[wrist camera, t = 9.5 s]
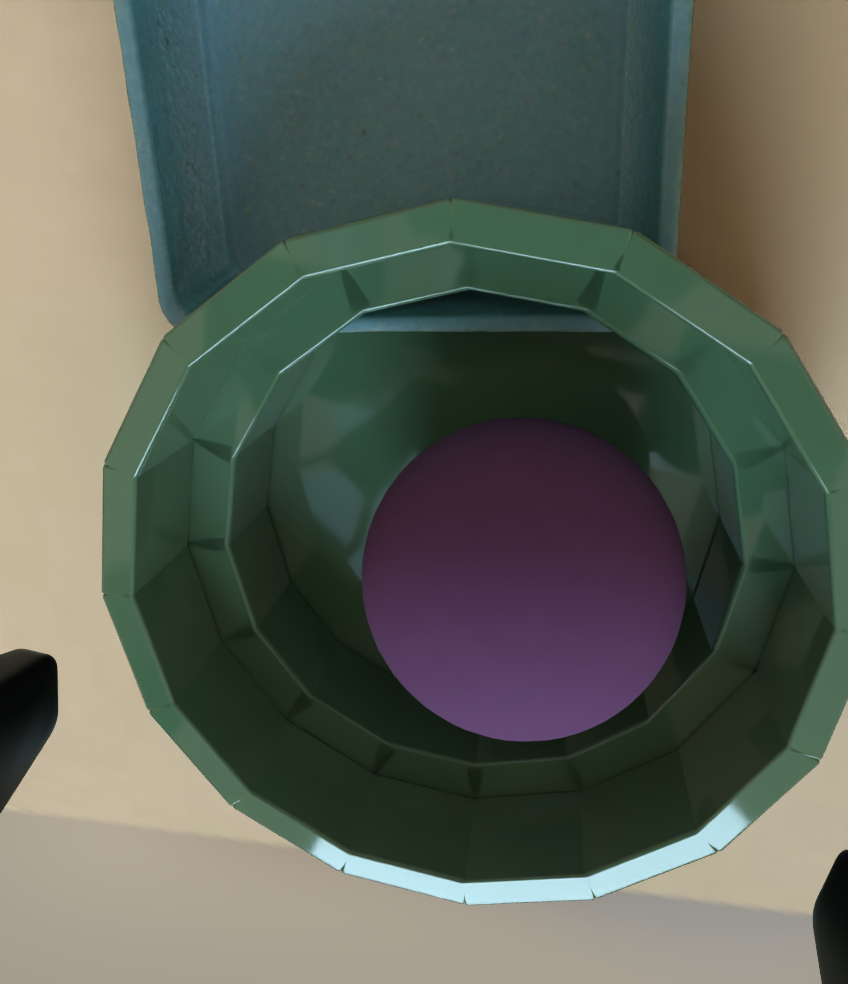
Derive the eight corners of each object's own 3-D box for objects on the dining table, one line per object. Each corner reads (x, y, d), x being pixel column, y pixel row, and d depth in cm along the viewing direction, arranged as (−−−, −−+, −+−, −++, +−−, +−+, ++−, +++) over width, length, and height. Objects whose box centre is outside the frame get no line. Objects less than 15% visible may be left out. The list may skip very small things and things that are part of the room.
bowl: (686, 784, 19) (728, 974, 14) (204, 669, 20) (98, 811, 15) (876, 265, 14) (1027, 298, 10) (239, 152, 15) (104, 134, 11)
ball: (573, 628, 18) (692, 814, 13) (331, 618, 17) (360, 820, 12) (637, 395, 16) (808, 509, 11) (366, 364, 15) (419, 477, 10)
